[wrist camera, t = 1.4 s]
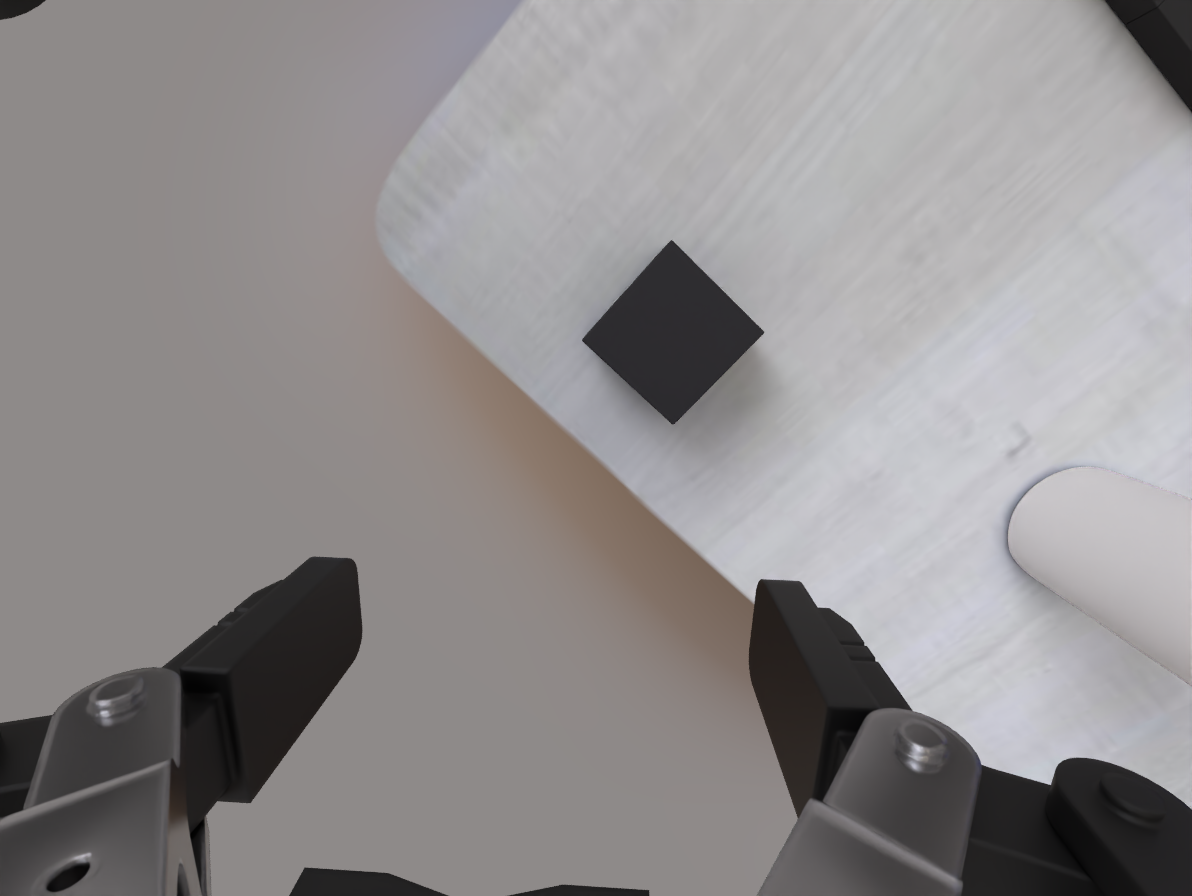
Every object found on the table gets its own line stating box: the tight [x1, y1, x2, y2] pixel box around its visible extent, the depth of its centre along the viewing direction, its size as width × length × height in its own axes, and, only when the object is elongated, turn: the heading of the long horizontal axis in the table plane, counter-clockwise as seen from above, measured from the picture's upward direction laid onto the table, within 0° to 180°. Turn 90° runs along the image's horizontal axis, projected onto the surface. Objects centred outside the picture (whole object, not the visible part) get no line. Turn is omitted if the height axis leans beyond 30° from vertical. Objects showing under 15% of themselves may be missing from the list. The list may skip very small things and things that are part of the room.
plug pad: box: [582, 240, 764, 424], centre depth 26 cm, size 6×6×4 cm
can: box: [1008, 467, 1192, 686], centre depth 23 cm, size 6×6×12 cm
